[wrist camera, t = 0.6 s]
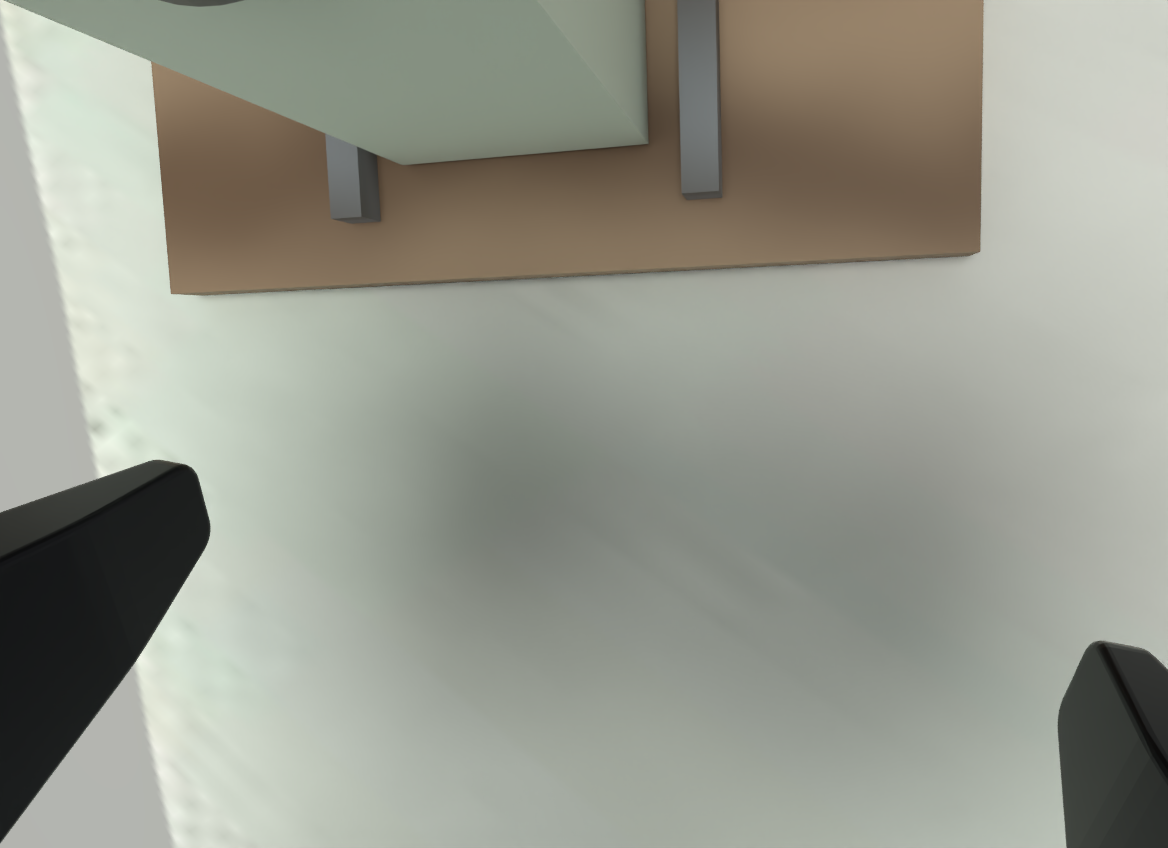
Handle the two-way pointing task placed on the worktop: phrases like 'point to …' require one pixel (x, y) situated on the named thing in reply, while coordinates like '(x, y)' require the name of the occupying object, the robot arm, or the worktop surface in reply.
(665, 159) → the knob mount
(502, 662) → the worktop surface
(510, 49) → the pale green capped bottle
